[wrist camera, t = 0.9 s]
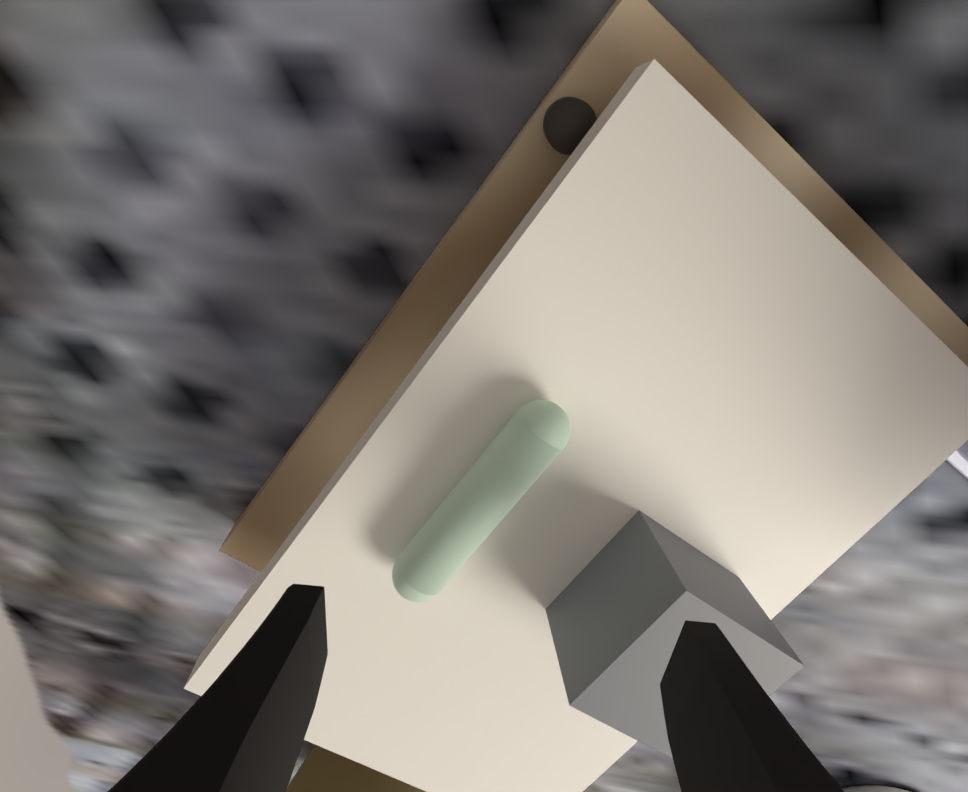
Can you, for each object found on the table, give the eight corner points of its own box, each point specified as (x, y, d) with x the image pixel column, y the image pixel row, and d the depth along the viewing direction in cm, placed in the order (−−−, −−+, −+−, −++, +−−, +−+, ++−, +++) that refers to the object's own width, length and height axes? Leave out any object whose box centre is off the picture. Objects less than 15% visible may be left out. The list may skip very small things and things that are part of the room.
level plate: (967, 388, 16) (1143, 461, 12) (527, 801, 21) (549, 951, 17) (635, 67, 13) (729, 21, 9) (199, 655, 18) (128, 801, 14)
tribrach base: (964, 337, 18) (1067, 399, 15) (525, 675, 27) (528, 760, 24) (621, -7, 14) (657, -30, 11) (235, 523, 23) (189, 601, 20)
